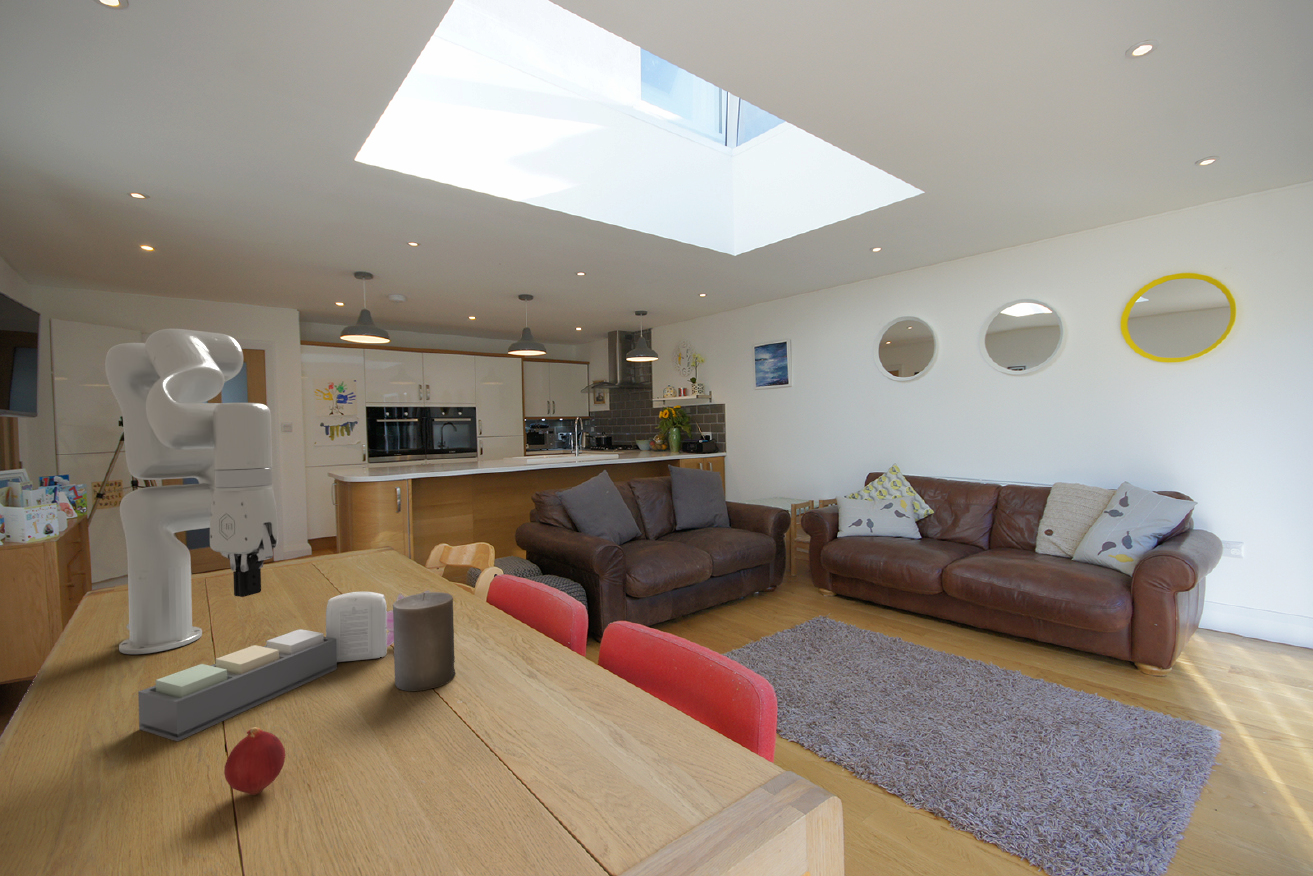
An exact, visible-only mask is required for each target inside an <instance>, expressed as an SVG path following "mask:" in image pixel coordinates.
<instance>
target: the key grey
mask: <svg viewBox="0 0 1313 876" xmlns="http://www.w3.org/2000/svg"><path fill="white" fill-rule="evenodd" d="M324 635H325V634H324V633H323V632H318V631H311V630H309V629H307V630H306V629H301V628H300V629H296V630H292V631H291V632H287V633H286V634H282V635H279V636H276V637H274V638H270V639H268V640H266V645H267V648H272V649H277V650H279V653H284V654H289V655H292V654H294V653H297V652H299V651H302V650H304V649H307V648H310V647H312V646H315V645H317V644H320V643H322V642H324V637H325V636H324Z"/></svg>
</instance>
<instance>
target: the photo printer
mask: <svg viewBox="0 0 1313 876" xmlns="http://www.w3.org/2000/svg"><path fill="white" fill-rule="evenodd" d="M387 607H388V606H387V601H386V596H385V594H383V593H379V592H373V591H352V592H348V593H347V592H346V593H343V594H338V595H336V596H334V597H331V598H329V599H328V600H327V606H326V610H325V637H329V638H334V639H336V646H337V663H341V662H352V661H354V662H355V661H361V660H362V661H363V660H372V659H380V657H382V658H383V656H384V657H386V655H387V653H388V652H387V651H388V647H387V634H388V630H387Z"/></svg>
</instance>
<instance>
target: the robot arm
mask: <svg viewBox="0 0 1313 876" xmlns="http://www.w3.org/2000/svg"><path fill="white" fill-rule="evenodd" d="M104 363H105V366H104V368H105V375H106V378H107V381H108V385H109V387H110V389H111V391H112V394H113V396H114V398H115V399H116V401H117V403H118V406H119V408H120V411H121V414H122V415H121V416H122V424H123V427H122V428H123V437H124V449H125V450H124V451H125V459H126V465H127V470H128V472H129V474H130V475H131V476H132V477H133V478H135V479H137V480H138V479H139V480H145V481H146V480H149V481H150V480H151V481H152V480H156V481H157V480H172V479H177V480H178V479H189V478H190V479H191V478H194V479H196V480H197V482H198V483H191V484H190V483H189V484H170V485H158V486H157V485H156V486H147V487H142V488H138V489H135V490H133V491H131V492H128V493H127V494H126V495H124V497H122V499H121V501H120V502H119V503H120V505H119V515H120V520H121V524H122V528H123V532H124V536H125V544H126V554H127V555H126V556H127V557H126V558H127V559H126V560H127V580H128V581H127V582H128V583H127V585H128V586H127V587H128V590H127V591H128V623H127V624H126V629H127V630H129V631H128V632H129V637H128V638H126V639H124V640H123V641H122V642H120V643H119V645H118V650H119V652H120V653H122V654H125V655H146V654H153V653H158V652H159V653H160V652H163V651H169V650H173V649H176V648H179V647H183V646H186V645H189V644H191V643H193V642H195V641H197V640H198V639H200V638H201V637H202V635H203V630H202V628H201V627H198V626H193V602H192V568H191V567H192V564H191V563H192V562H191V552H190V550H189V548H188V546H187V545H185V544H184V543H183V542H182V541H181V540H179V539H178V538H177V537H176V536H175V535H174V534H175V533H180V532H184V531H185V532H186V531H192V530H200V529H201V530H202V529H208V528H209V547H210V549H211V550H212V551H214V552H216V553H220V555H221V556H223V557H224V558H227V559H229V562H230V564H229V565H230V569H231V571H232V572H233V573H232V574H233V595H234V597H240V598H245V597H247V596H248V597H249V596H252V595H256V594H260V593H261V591H262V575H261V573H262V572H261V571H262V570H261V569H263V567H264V561H265V560H269V559H272V558H273V557H274V552H273V549H275V548H276V547H277V546H278V543H279V519H278V510H277V502H276V497H275V493H274V474H273V473H274V472H273V471H274V468H273V442H272V440H273V439H272V436H273V434H272V414H271V413H272V412H271V410H270V408H269V406H267V405H266V404H263V403H258V402H223V403H218V402H217V403H216V402H215V403H214V402H208V401H211V400H212V399H213V398H216V397H217V396H218V395H219V394H220V393H221V392H222V390H223V388H224V385H225V383H226V382H228V381H229V380H232V379H233V378H234V377H236V376H237V375H238V374H240V372H241V370H242V368H243V365H244V353H243V349H242V347H241V345H240V343H239V342H238V341H237V340H236V339H235V338H234V337H233V336H231V335H228V334H224V333H220V332H210V331H202V330H194V329H192V330H191V329H184V328H163V329H160V330H157V331H155V332H152V333H151V334H150V335H149V336H148V337H147V339H146V340H145V342H127V343H119V344H116V345H113V346H112V347H110V349H109V350H108V351H107V353H106V355H105V361H104Z"/></svg>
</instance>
